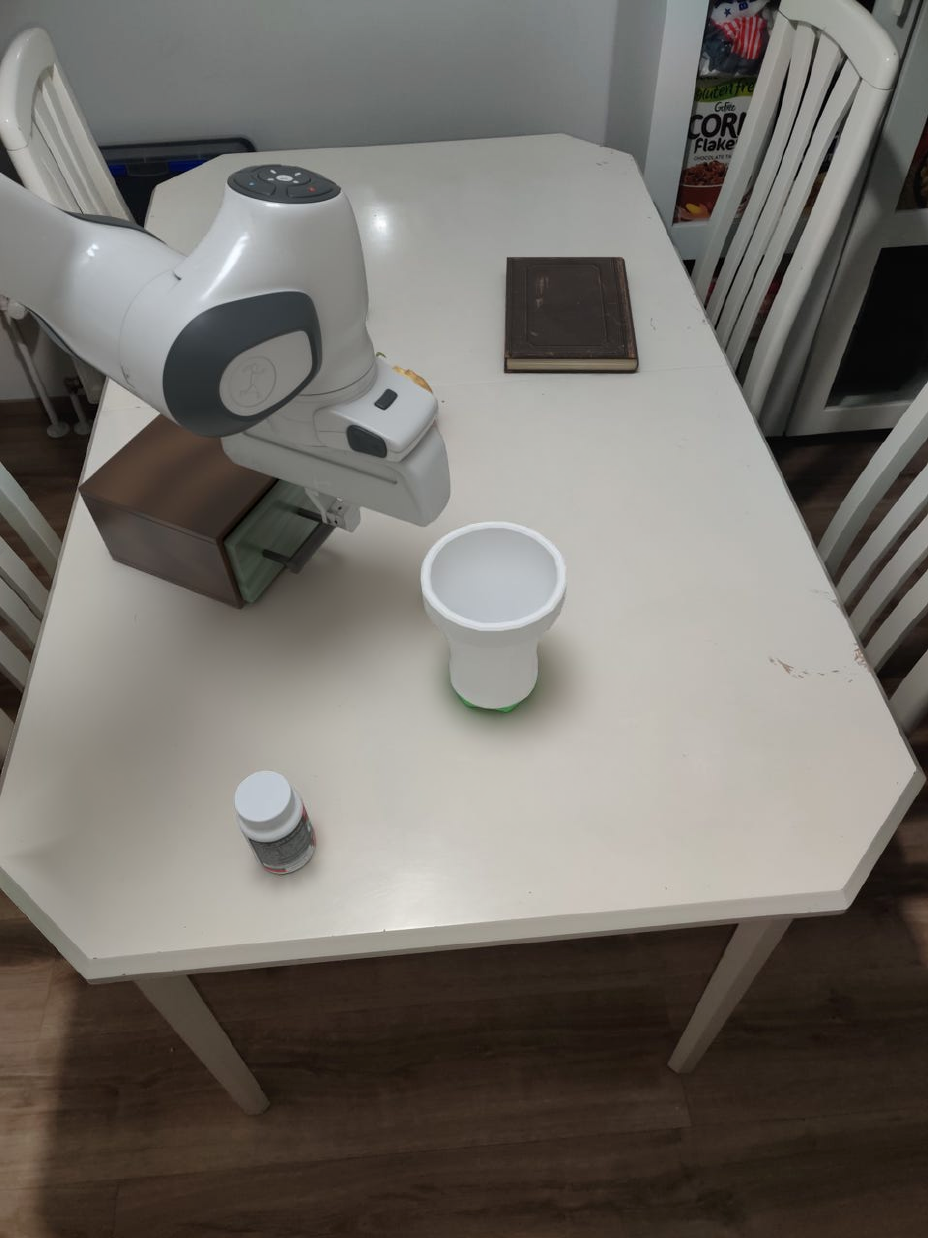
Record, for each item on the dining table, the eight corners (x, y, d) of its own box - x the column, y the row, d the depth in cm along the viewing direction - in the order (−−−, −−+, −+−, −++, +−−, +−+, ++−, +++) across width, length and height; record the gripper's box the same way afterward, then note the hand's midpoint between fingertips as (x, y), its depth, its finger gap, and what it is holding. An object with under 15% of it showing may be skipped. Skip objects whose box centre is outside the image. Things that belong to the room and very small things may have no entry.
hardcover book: (503, 372, 105) (504, 356, 103) (506, 272, 119) (506, 256, 117) (637, 373, 104) (639, 356, 102) (623, 272, 118) (625, 256, 117)
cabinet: (316, 517, 90) (300, 445, 82) (240, 609, 82) (215, 538, 75) (195, 476, 95) (169, 403, 87) (112, 559, 87) (76, 487, 80)
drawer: (358, 531, 87) (348, 472, 81) (291, 618, 80) (274, 561, 74) (207, 479, 93) (187, 420, 87) (132, 556, 86) (104, 498, 80)
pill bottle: (328, 844, 67) (311, 792, 61) (281, 888, 65) (257, 839, 59) (289, 806, 69) (268, 753, 63) (242, 847, 67) (215, 797, 61)
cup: (529, 617, 81) (535, 505, 70) (577, 712, 74) (592, 605, 63) (414, 649, 79) (401, 540, 68) (452, 750, 72) (445, 647, 61)
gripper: (183, 380, 67) (224, 510, 78) (418, 453, 61) (427, 583, 72) (231, 337, 70) (264, 468, 81) (457, 403, 65) (460, 534, 75)
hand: (342, 523), depth 76 cm, fingers closed
